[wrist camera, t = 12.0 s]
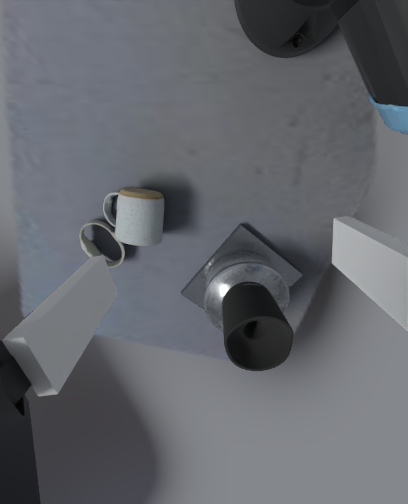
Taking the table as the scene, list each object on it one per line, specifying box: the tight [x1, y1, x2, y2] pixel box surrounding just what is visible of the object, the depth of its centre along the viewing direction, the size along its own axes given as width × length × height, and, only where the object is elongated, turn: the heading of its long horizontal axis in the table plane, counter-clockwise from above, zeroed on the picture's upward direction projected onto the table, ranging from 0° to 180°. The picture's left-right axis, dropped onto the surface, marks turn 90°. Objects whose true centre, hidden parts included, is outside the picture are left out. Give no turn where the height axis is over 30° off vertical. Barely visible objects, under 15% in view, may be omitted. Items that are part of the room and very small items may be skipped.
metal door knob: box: [181, 224, 303, 331], centre depth 44 cm, size 18×16×7 cm
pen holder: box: [222, 282, 293, 371], centre depth 36 cm, size 9×9×10 cm
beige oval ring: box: [79, 220, 125, 268], centre depth 42 cm, size 9×6×5 cm
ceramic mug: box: [103, 188, 164, 246], centre depth 38 cm, size 11×8×8 cm
